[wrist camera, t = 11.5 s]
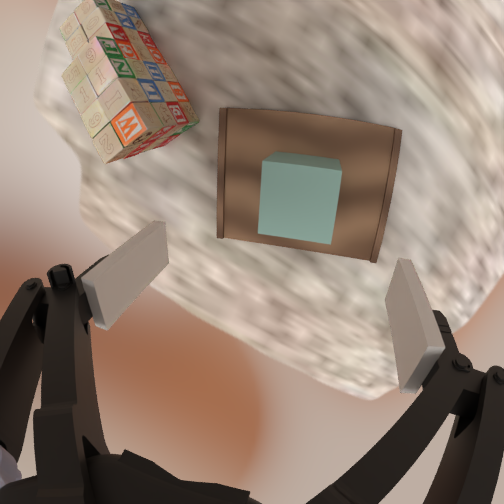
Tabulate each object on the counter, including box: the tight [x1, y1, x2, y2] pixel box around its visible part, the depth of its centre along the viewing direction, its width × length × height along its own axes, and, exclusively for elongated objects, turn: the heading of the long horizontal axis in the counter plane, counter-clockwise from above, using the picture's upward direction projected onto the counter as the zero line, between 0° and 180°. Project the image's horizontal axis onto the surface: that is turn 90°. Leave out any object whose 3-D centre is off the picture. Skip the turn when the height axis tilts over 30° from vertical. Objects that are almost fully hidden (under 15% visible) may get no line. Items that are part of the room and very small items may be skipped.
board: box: [217, 108, 402, 263], centre depth 33 cm, size 16×20×2 cm
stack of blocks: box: [60, 0, 199, 164], centre depth 26 cm, size 21×6×12 cm, turn 29°
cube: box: [258, 151, 342, 245], centre depth 29 cm, size 7×7×7 cm
